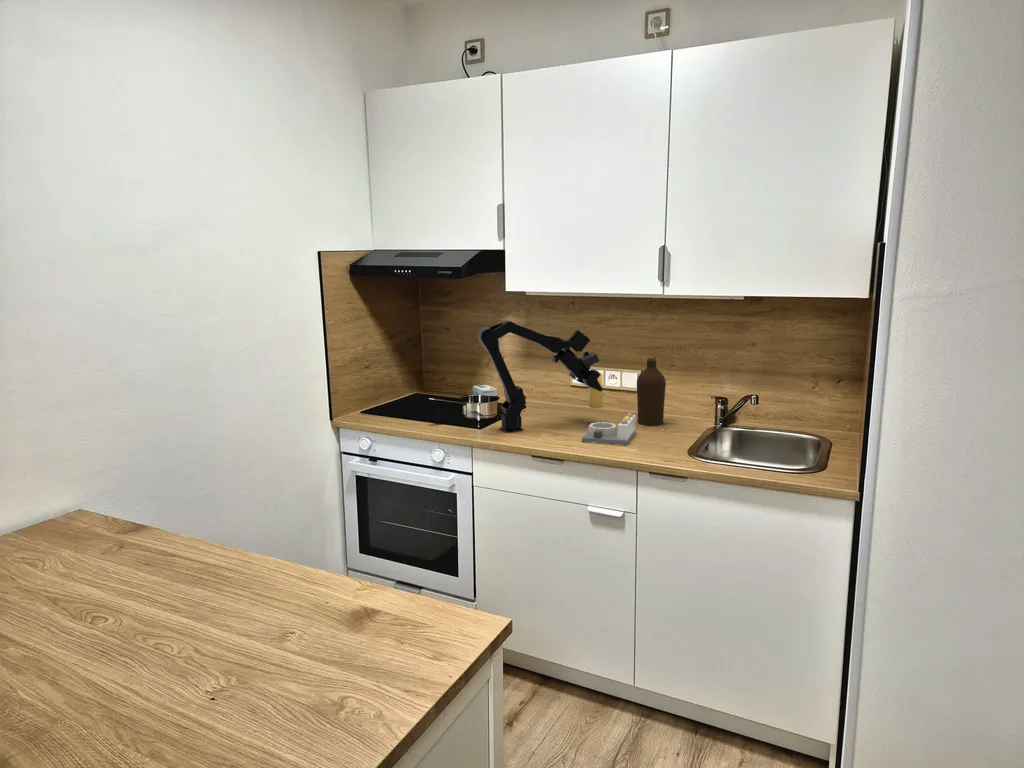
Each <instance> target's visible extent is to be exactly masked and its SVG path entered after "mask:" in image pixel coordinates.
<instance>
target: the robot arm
mask: <svg viewBox="0 0 1024 768" xmlns="http://www.w3.org/2000/svg"><path fill="white" fill-rule="evenodd" d="M509 333H511V334H514V335H516V336H519V337H521V338H523V339H527V340H529V341H531V342H534V343H536V344H538V346H540V347H542V348H544V349H545V350H546V351H549V352H551V353H554V354H552V355H551V356H552V359H551V361H552V363H555V364H557V363H558V362H560V363H561V364H562V365H563V366H564V367H565V368H566V370H567V371H569V377H571V379H573V380H576V381H577V382H578V383H581V384H583V385H584V386H586V387H588V388H589V387H591V388H593V389H596V390H598V391H602V390H604V389H602V387H601V385H600V383H599V382H598V380H597V379H598V378H599V376H600V375H601V374H600V371H598V370H597V369H591V368H592V367H591V366H593V365H595V364H596V363H600V359H599V356H598V354H597V352H593V351H592V352H591V351H590V352H589V351H587V350H586V351H583V350H584V349H585V348H586V347H587V346H588V345H589V343H590V342H591V339H590V338H589V337H588V336H587V335H585V334H584V333H583V332H581V331H580V330H579V329H574V331H573V333H572V334H571V335H570V336H569V337H568V339H565V338H564V339H561V337H558V336H555V335H552V334H551V335H550V334H546V333H541V332H537V331H535V330H533V329H530V328H527V327H524V326H522V325H520V324H517V323H515V322H513V321H511V320H509V319H508V320H503V321H502V322H500V323H497V324H494V325H492V326H489V327H487V326H485V327H484V326H483V327H481V328H480V329H479V330H478V332H477V334H476V337H477V340H478V342H479V343H480V344H481V346H482V347H483V349H484V350H485V351H486V352H487V354H488V356H489V358H490V360H491V363H492V364H493V367H494V369H495V371H496V373H497V376H498V378H499V380H500V383H501V384H502V386H503V392H504V397H505V401H504V402H503V403H502V404H501V405H500V409H501V412H503V413H501V414H500V415H501V426H500V427H499V430H501V431H503V432H506V433H513V432H514V433H515V432H519V431H523V430H524V428H523V427H522V425H523V424H522V420H523V419H522V416H521V414H522V410H523V409H524V408H525V407H526V403H527V401H526V399H527V396H526V395H525V394H524V390H523V388H522V387H521V386H519V385H516V384H515V382H514V380H513V378H512V375H511V373H510V371H509V369H508V366H507V364H506V362H505V360H504V357H503V355H502V353H501V350H500V343H499V339H502V337H504V336H506V335H508V334H509ZM582 351H583V352H582ZM577 352H578V353H581V352H582V357H581V358H580V357H579V356H577Z"/></svg>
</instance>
